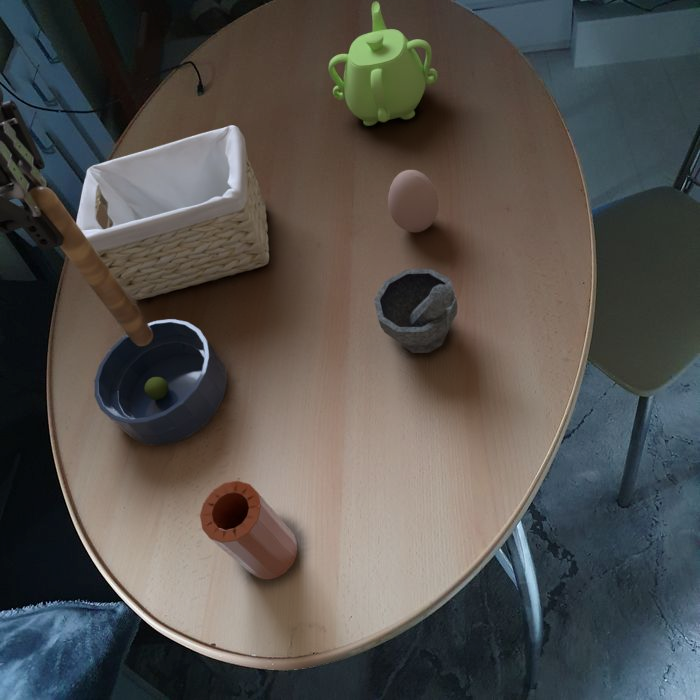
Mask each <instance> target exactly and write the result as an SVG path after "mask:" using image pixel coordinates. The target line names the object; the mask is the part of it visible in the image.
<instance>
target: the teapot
mask: <svg viewBox="0 0 700 700" xmlns="http://www.w3.org/2000/svg"><path fill="white" fill-rule="evenodd" d="M371 19H372V31H371V32H368V33H364V34H362V35H359V36H357V37H356V39H354V40H353V42H352V43H351V44H350V47H349V51H348V53H340V54H336V55H335V56H333V57H332V58H331V59H330V61H329V63H328V73H329V76H330V78H331V79H332V81H333V82H334V83H335V86H334V87H333V89H332V95H333V97H334V99H336V100H338V101H344V100H345V102H346V105H347V107H348V109H349V111H350V112H351V113H352V114H353V115H354V116H356V117H357V118H358V119H359V120H362V121H363V125H364V126H367V127H368V126H369V127H370V126H374V125H376V124H377V123H378V122H380V123H385V122H388V121H389V120H390V121H391V120H394V119H398V118H400V119H402V120H410V119H412V118H413V117H415V115H416V111H415V109H416V108H417V106H418V105H419V103H420V102H421V100H422V97H423V95H424V93H425V90H426V85H432V84H433V85H434V83H436V82H437V80H438V77H439V74H438V71H437V70H436V69H435V68H430V67H431V63H432V57H433V56H432V55H433V50H432V47H431V45H430V43H428V42H427V41H426V40H424V39H420V38H419V39H411V40H410V41H409V39H408V38H407V37H406V36H405V34H404V33H402V32H401V31H400V30H398V29H396V28H395V29H394V28H387V26H386V24H385V23H386V22H385V21H384V17H383V14H382V10H381V5H380V3H379V2H378V1H376V0H375V1H373V2H372V4H371ZM417 48H418V49H424V50H425V59H424V64H423V63H422V61H421V58H420V56H419V55H418V53H417V51H416V50H415V49H417ZM339 63H345V66H344V72H343V80H342V79H341V77H340V76H339V74H338V73H337V71H336V68H335V66H336V65H337V64H339ZM429 75H430V76H429ZM339 91H340V92H339Z"/></svg>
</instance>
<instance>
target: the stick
mask: <svg viewBox="0 0 700 700" xmlns="http://www.w3.org/2000/svg"><path fill="white" fill-rule="evenodd" d="M29 193H30V195H31V196H32V198H33V199H34V200H35V202H36V203H37V205H38V206H39V208H40V210H42V211H43V212H44V213H45V214H46V215H47V217H48V218H49V219H50V220H51V222H52V223H53V224H54V225H55V226H56V228H57V229H58V230H59V231H60V233H61V234H62V235H63V236H64V240H63V244H62V245H61V246H59V247H60V249H61V250H62V251H63V253H64V254H65V255H66V257H67V258H68V259H69V260H70V262H71V263H72V264H73V266H74V267H75V268H76V270H77V271H78V272H79V273H80V275H81V276H82V278H83V279H84V280H85V282H86V283H87V285H89V287H90V288H91V289H92V291H93V292H94V294H96V296H97V297H98V299H99V300H100V301H101V302H102V304H103V305H104V306H105V308H106V309H107V310H108V311H109V313H110V315H112V317H113V318H114V320H115V321H116V322H117V324H118V325H119V326H120V327H121V329H122V330H123V331H124V332H125V335H126V334H127V335H128V336H129V338H130V339H131V340H132V341H133V343H134V344H136V345H138V346H146V345H148V344H149V343H150V342H151V341H152V339H153V332H152V330H151V328H150V327H149V326H148V322H147V321H146V320H145V318H144V317H143V315H142V314H141V313H140V311H139V310H138V308H137V307H136V306H135V305H134V303H133V302H132V300H131V298H130V297H129V296H128V293H127V292H126V291H125V290H124V288H123V287H122V286H121V285H119V283H118V282H117V280H116V279H115V278H114V276H113V275H112V273H111V272H110V271H109V269H108V268H107V266H106V265H105V263H104V262H103V261H102V259H101V258H100V256H99V255H98V254H97V252H96V251H95V249H94V248H93V247H92V245H91V244H90V242H89V241H88V239H87V238H86V237H85V235H84V234H83V232H82V231H81V230H80V228H79V227H78V225H77V224H76V221H75V220H74V218H73V217H72V216H71V214H70V213H69V211H68V210H67V208H66V207H65V206H64V204H63V203H62V201H61V200H60V199H59V197H58V196H57V194H56V193H55V192H54V190H53V189H51V188H50V187H47V186H46V187H44V186H37V187H34V188H33V189H31V190H30V192H29Z"/></svg>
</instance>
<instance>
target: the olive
mask: <svg viewBox="0 0 700 700" xmlns="http://www.w3.org/2000/svg"><path fill="white" fill-rule="evenodd" d="M144 389H145V393H146V395H147V396H148V397H149V398H151V399H153V400H160V399H162V398H164V397H165V396H166V395H167V393H168V389H169V388H168V384H167V382H166V381H165V380H164V379H163V378H161V377H153V378H150V379H149V380H148V381H147V382H146V384H145V388H144Z"/></svg>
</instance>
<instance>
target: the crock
mask: <svg viewBox="0 0 700 700" xmlns="http://www.w3.org/2000/svg"><path fill="white" fill-rule="evenodd" d="M199 516H200V523H201V529H202V531H203V532H204V533H205V534H206V536H207V537H208V538H209V539H210V540H211V541H212V542H214V544H216V545H217V546H218V547H219V548H220V549H222V550H223V551H224V552H225V553H226V554H228V555H229V556H230V557H231V558H232V559H233V560H234V561H235V562H236V563H238V564H239V565H240V566H241V567H243V568H244V569H245V570H246V571H247V572H248V573H250V574H251V575H253V576H254V577H256V578H259V579H260V580H261V579H262V580H272V579H277V578H279V577H281V576H282V575H284V574H285V573H287V572H288V571H289V570H290V568H291V567H292V566H293V564H294V563H295V561H296V558H297V554H298V542H297V538H296V537H295V534H294V532H293V531H292V530H291V529H290V528H289V527H288V525H287V524H286V523H285V522H284V521H283V520H282V519H281V517H280V516H279V515H278V514H277V513H276V512H275V510H274V509H273V508H272V507H271V506H270V505H269V503H267V501H266V500H265V498H263V497H262V496H261V495H260V493H259V492H258V491H257V490H256V489H255V488H254V487H253V486H252V484H250V483H247V482H245V481H241V480H234V481H228V482H224V483H222V484H221V485H219V486H217V487H216V488H214V489H213V490H212V491H211V492H210V493H209V495H208V496H207V497H206V499H205V500H204V502H203V503H202V507H201V511H200V514H199Z"/></svg>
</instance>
